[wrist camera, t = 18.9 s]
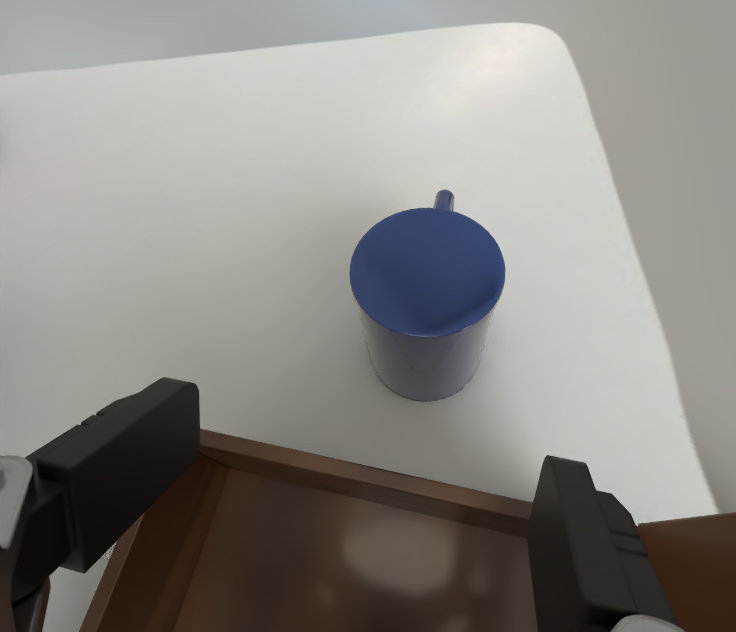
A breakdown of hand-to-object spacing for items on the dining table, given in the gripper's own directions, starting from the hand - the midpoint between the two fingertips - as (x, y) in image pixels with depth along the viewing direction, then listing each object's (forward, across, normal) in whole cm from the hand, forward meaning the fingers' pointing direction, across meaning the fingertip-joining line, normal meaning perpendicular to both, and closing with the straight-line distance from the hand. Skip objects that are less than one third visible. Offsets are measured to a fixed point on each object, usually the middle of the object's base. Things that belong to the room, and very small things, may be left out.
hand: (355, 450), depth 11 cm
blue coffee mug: (+16, 0, +2) cm, 16 cm away
